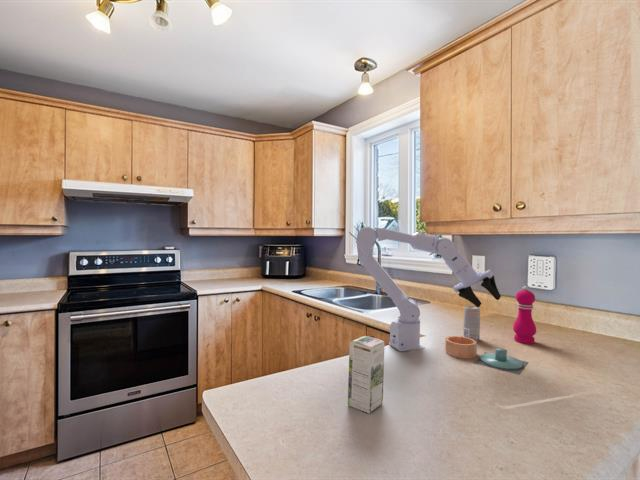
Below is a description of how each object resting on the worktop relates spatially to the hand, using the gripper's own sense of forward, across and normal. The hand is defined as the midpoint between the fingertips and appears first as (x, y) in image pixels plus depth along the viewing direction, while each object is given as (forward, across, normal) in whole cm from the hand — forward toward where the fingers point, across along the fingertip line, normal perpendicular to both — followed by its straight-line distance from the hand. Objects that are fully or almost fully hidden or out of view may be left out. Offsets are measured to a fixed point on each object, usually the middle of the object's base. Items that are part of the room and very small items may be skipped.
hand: (489, 302), depth 110 cm
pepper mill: (+23, +9, -13) cm, 28 cm away
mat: (+13, +1, +14) cm, 19 cm away
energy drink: (+12, +18, -1) cm, 21 cm away
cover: (+13, 0, +14) cm, 19 cm away
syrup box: (-10, 0, +58) cm, 59 cm away
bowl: (+7, +10, +15) cm, 19 cm away
